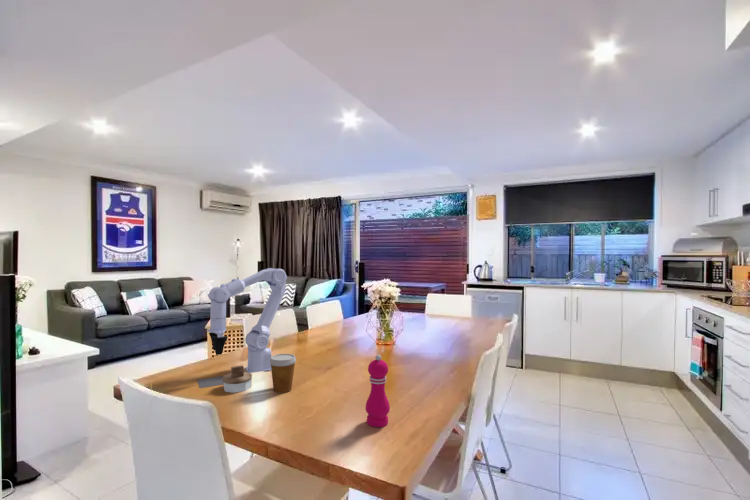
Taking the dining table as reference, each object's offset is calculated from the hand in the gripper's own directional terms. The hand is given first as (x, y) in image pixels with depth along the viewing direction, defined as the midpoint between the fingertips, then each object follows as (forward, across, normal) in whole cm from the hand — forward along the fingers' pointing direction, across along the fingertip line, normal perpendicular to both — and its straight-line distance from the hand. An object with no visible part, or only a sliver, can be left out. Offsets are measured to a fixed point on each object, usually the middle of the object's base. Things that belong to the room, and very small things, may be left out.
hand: (217, 352), depth 145 cm
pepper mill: (+11, +63, +36) cm, 73 cm away
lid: (+7, +15, +5) cm, 17 cm away
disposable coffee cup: (+11, +24, +19) cm, 32 cm away
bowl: (+10, +15, +5) cm, 19 cm away
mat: (+10, +4, -2) cm, 11 cm away
